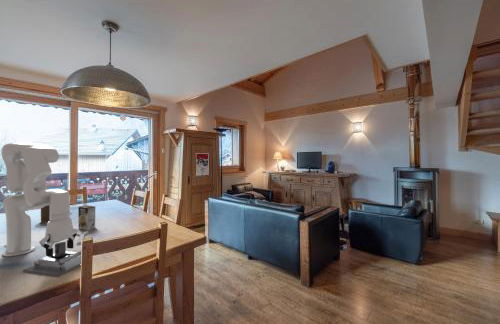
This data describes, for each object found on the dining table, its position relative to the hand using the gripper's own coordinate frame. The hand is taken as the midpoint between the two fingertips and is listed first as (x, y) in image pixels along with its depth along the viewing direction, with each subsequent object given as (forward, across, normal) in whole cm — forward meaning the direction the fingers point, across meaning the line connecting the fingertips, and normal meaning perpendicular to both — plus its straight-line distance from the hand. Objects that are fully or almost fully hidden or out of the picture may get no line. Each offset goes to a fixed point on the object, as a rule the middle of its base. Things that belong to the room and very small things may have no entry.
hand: (60, 252), depth 109 cm
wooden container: (+7, -60, -83) cm, 103 cm away
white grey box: (+6, 0, +2) cm, 6 cm away
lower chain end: (+6, 0, -2) cm, 6 cm away
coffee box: (+7, -50, -39) cm, 64 cm away
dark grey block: (+6, 0, 0) cm, 6 cm away
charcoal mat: (+7, 0, -1) cm, 7 cm away
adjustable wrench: (+7, -32, -25) cm, 42 cm away
